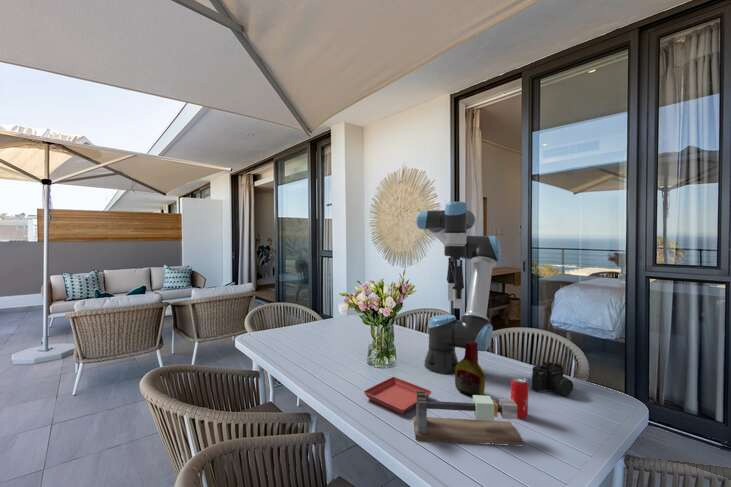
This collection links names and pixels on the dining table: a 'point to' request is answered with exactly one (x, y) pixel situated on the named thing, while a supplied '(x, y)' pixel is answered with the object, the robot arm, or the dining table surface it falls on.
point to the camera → (551, 379)
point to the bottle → (470, 372)
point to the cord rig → (465, 423)
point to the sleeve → (483, 408)
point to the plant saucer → (395, 394)
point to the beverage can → (520, 395)
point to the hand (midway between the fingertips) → (454, 304)
